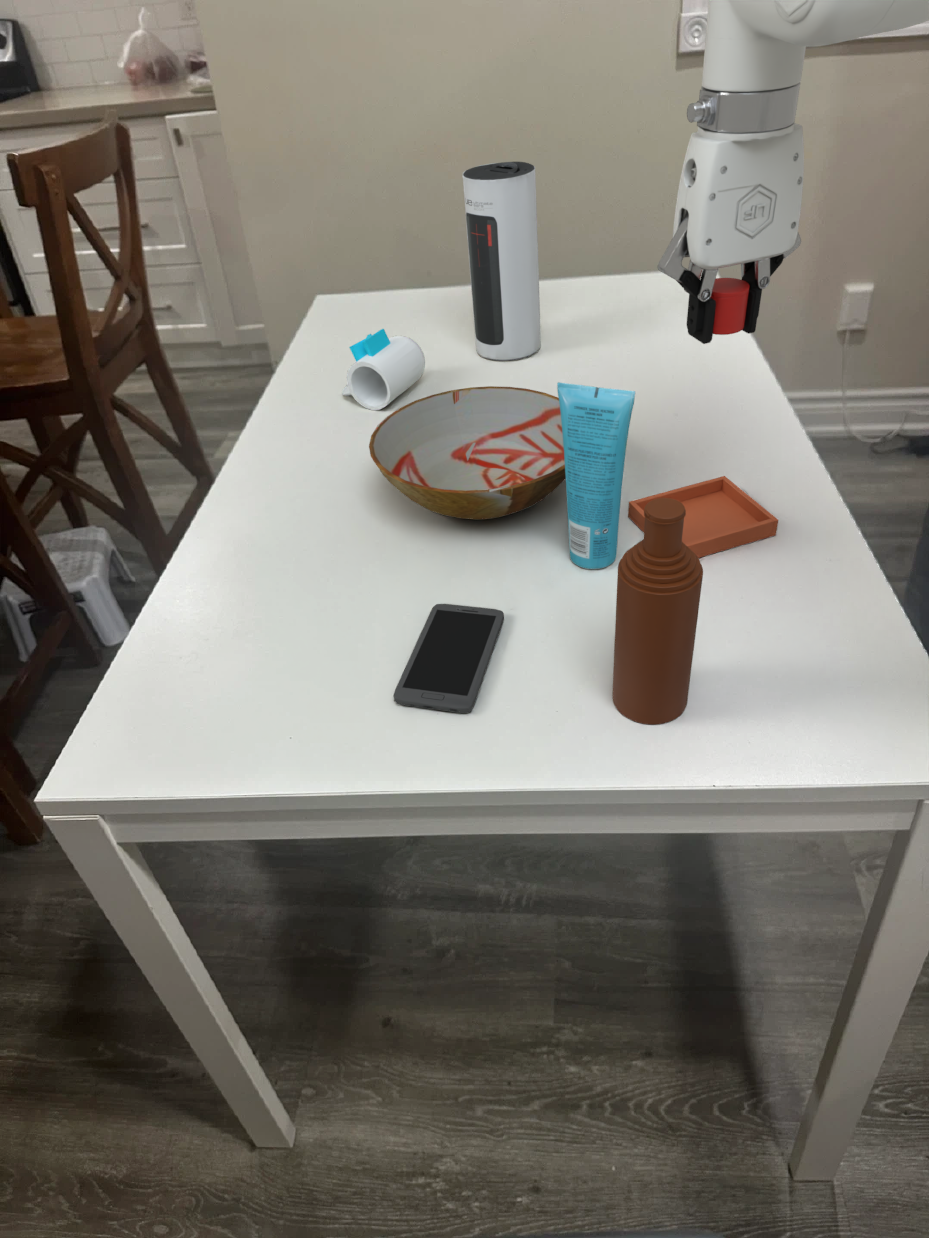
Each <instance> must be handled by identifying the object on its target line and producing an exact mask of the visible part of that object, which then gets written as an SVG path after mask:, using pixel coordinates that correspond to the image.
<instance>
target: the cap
mask: <svg viewBox="0 0 929 1238" xmlns="http://www.w3.org/2000/svg"><path fill="white" fill-rule="evenodd" d="M748 294H749V284H748V283H747V282H746V281H744V280H742V279H740V278H735V277H718V278H717V277H716V279H715V283H714V287H713V291H712V295H711V298H712V299H714V300H715V301H716V309H715V318H714V327H713V335H719V336H725V335H726V336H727V335H732V334H737V333H740V332H742V331H743V330H742V329H743V328H744V323H745V316H746V308H747V301H748Z"/></svg>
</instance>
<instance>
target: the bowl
mask: <svg viewBox="0 0 929 1238" xmlns="http://www.w3.org/2000/svg"><path fill="white" fill-rule="evenodd" d="M368 450H369V454H370V458H371V459H372V461H373V462H374V464H375V465H376V468H378V470H379V471H380V472H381V473H382V475H383V477H384V478H386V480H387V481H388V482H389V483H390V484H391V486H393V487H394V488H395V489H397V490H398V491H399V492H400V493H401V494H403V496H405V497H406V498H407V499H408V500H410V501H412V502H413V503H415V504H417V505H419V506H420V507H422V508H425V509H426V510H428V511H430V512H433V513H435V514H438V515H442V516H445V517H446V516H447V517H450V518H451V517H452V518H456V519H464V520H477V521H479V520H491V519H497V518H502V517H506V516H509V515H512V514H516V513H518V512H522V511H523V510H526V509H528V508H530V507H533V506H535V505H536V504H537V503H540V502H541V501H543V500H544V499H546V498H547V497H548V496H549V495H551V494H552V493H553V492H554V491H555V490H556V489H557V488H558V487H560V485H562V484H563V483H564V481H566V475H565V460H564V446H563V433H562V423H561V412H560V404H559V397H558V396H555V395H553V394H550V393H547V392H543V391H539V390H534V389H530V388H522V387H514V386H491V385H490V386H489V385H488V386H473V387H465V388H459V389H451V390H446V391H443V392H439V393H434V394H431V395H427V396H425V397H422V398H419V399H416V400H413V401H411V402H410V403H407V404H405V405H403V406H400V407H399V408H398V409H396V410H394V411H393V412H391V413H390V414H388V415H386V417H385V418H384V419H383V420H382V421H381V422H380V423H379V424H377V426H376V428H375V429H374V431H373V432H372V433H371V436H370V439H369V444H368Z"/></svg>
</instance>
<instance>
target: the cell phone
mask: <svg viewBox="0 0 929 1238" xmlns="http://www.w3.org/2000/svg"><path fill="white" fill-rule="evenodd" d="M504 620H505V613H504V611H503V610H501V609H498V608H489V607H480V606H470V605H461V604H453V603H452V604H451V603H437V604H435V605H434V606H432V607H431V610H430V612H429V614H428V615H427V618H426V621H425V623H424V625H423V627H422V630H421V632H420V633H419V635H418V638H417V640H416V642H415V645H414V647H413V649H412V651H411V654H410V656H409V659H408V661H407V663H406V664H405V667H404V670H403V672H402V674H401V676H400V679H399V680H398V683H397V685H396V687H395V689H394V693H393V701H394V703H396V704H398V705H401V706H405V707H407V706H408V707H414V708H422V709H429V710H434V711H435V710H436V711H443V712H451V713H456V714H457V713H458V714H469V713H471V712H472V710H473V708H475V707H474V706H475V704H476V702H477V698H478V696H479V693H480V690H481V687H482V684H483V682H484V679H485V675H486V673H487V670H488V667H489V665H490V662H491V658H492V656H493V653H494V650H495V647H496V644H497V641H498V638H499V635H500V633H501V630H502V627H503V625H504Z"/></svg>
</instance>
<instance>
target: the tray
mask: <svg viewBox="0 0 929 1238" xmlns="http://www.w3.org/2000/svg"><path fill="white" fill-rule="evenodd" d="M658 498H671V499H675V500H677V501H679V502H681V503H682V504H683V505H684V507H685V510H686V515H685V517H684V524H683V534H682V542H683V543H684V544H685V545H686V546H687V547H688V548H689V549H690V550H691V551H692V552H694V553H695V554H696V555H697V557H698V558H699V559H700V558H703V557H707V556H710V555H714V554H717V553H720V552H723V551H728V550H730V549H735V548H737V547H741V546H744V545H748V544H751V543H754V542H759V541H760V540H761V541H762V540H765V539H769V538H771V537H772V538H773V537H775V536H776V535H777V532H778V531H777V530H778V527H779V526H778V525H779V519H778V518H777V517H776V516H775V515H773V513H771V512H770V511H769V510H767V509H766V508H765V507H764V506H762V505H761V504H760V503H759V502H757V501H756V500H755V499H754V498H753V497H751V496H750V495H749V494H748V493H747V492H745V491H744V490H743V489H741V487H739V486H738V485H737V484H735V483H734V482H733V481H732V480H731V479H729V478H728V477H727V476H725V475H722V476H718V477H714V478H711V479H707V480H704V481H700V482H696V483H693V484H689V485H685V486H681V487H678V488H675V489H671V490H667V491H663V492H660V493H659V492H658V493H656V494H652V495H648V496H645V497H641V498H638V499H634V500H629V501H628V510H627V511H628V513H627V517H628V518H629V520H631V522H633V523H634V525H635V526H637V528H639V530H640V531H641V532H642V533H643V534H644V524H645V516H644V507H645V506H646V505H647V504H648V503H649V502H650V501H652V500H654V499H658Z"/></svg>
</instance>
